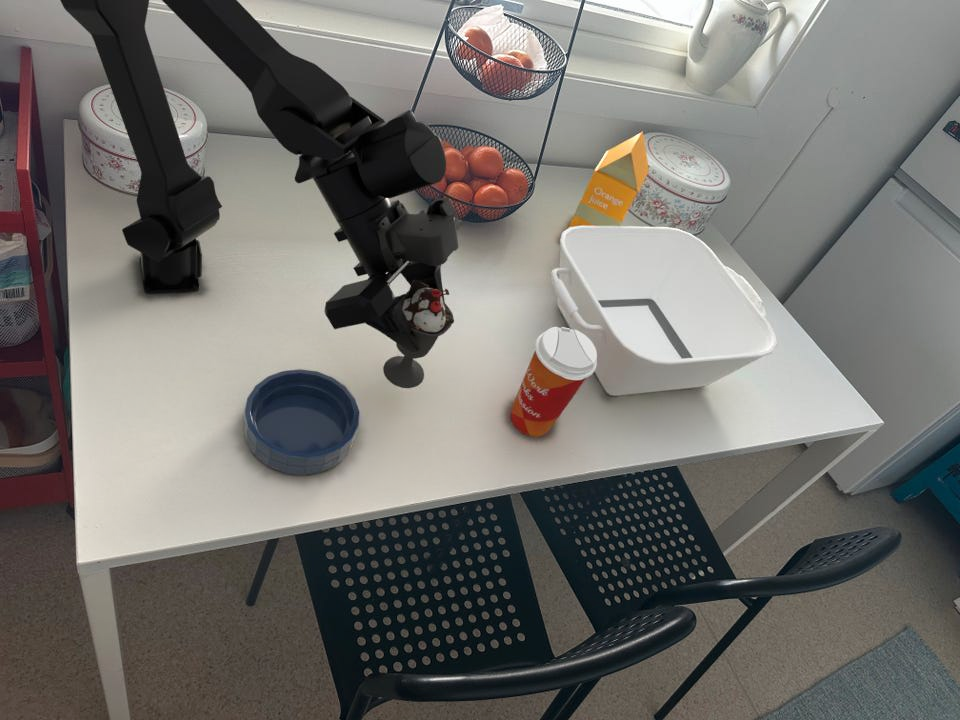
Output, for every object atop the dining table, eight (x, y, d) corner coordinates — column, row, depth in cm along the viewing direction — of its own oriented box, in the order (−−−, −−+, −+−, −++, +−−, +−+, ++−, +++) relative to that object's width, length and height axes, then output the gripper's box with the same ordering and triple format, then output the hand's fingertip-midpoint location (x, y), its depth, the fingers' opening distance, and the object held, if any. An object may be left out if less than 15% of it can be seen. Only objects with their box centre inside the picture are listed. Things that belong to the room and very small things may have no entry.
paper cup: (499, 393, 94) (534, 318, 84) (553, 399, 96) (594, 327, 86) (505, 441, 89) (544, 367, 79) (562, 447, 91) (607, 376, 81)
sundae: (423, 402, 82) (458, 310, 71) (368, 381, 81) (395, 286, 71) (437, 363, 86) (472, 272, 76) (385, 344, 86) (413, 249, 76)
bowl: (254, 486, 75) (256, 466, 72) (235, 396, 82) (236, 375, 79) (366, 467, 80) (371, 448, 78) (339, 385, 87) (343, 364, 84)
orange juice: (560, 242, 122) (607, 140, 108) (574, 219, 128) (621, 119, 114) (601, 263, 121) (654, 162, 107) (613, 238, 127) (665, 140, 113)
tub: (673, 285, 123) (711, 227, 114) (759, 408, 107) (811, 351, 98) (498, 290, 108) (526, 223, 99) (569, 432, 93) (609, 368, 84)
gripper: (373, 231, 61) (452, 377, 67) (464, 150, 74) (522, 278, 81) (286, 257, 67) (365, 388, 73) (384, 178, 80) (444, 295, 87)
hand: (429, 334), depth 78 cm, fingers closed on sundae, 6 cm apart
